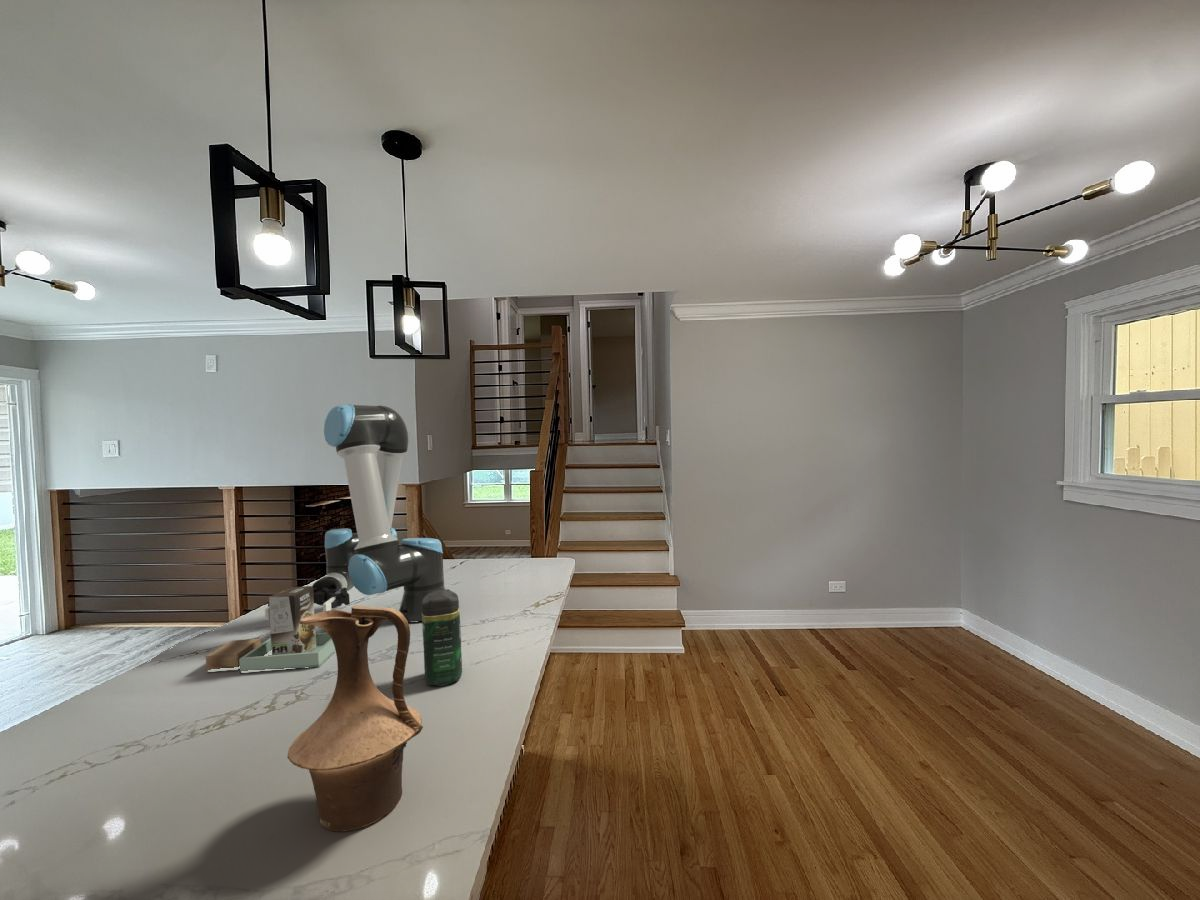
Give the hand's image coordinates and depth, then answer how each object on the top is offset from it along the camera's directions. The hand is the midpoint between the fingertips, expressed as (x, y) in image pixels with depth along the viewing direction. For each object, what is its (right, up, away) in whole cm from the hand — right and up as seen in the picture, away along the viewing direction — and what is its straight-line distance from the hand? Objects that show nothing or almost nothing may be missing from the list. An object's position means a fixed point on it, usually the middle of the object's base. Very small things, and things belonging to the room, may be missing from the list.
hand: (295, 611), depth 134 cm
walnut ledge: (-13, -12, -2) cm, 18 cm away
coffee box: (+1, -11, -1) cm, 11 cm away
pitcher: (+42, -10, -58) cm, 73 cm away
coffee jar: (+42, -9, -17) cm, 46 cm away
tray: (+1, -11, -1) cm, 11 cm away
